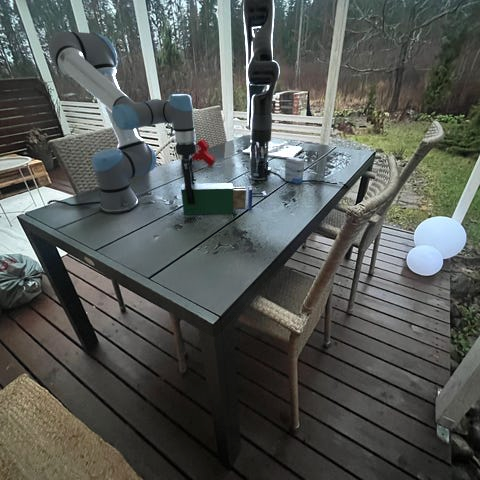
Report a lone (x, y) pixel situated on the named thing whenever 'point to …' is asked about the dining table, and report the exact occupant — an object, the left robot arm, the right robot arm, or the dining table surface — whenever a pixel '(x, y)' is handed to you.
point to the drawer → (244, 197)
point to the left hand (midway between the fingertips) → (192, 200)
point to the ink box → (294, 170)
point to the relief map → (280, 150)
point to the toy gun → (203, 153)
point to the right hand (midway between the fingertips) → (259, 173)
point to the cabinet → (209, 199)
